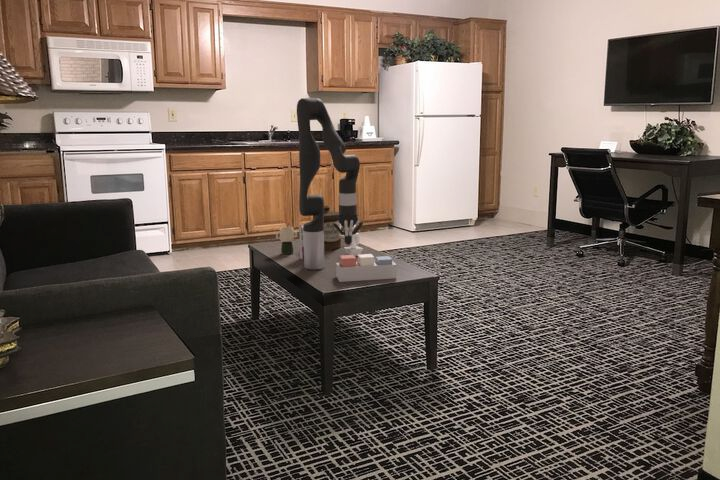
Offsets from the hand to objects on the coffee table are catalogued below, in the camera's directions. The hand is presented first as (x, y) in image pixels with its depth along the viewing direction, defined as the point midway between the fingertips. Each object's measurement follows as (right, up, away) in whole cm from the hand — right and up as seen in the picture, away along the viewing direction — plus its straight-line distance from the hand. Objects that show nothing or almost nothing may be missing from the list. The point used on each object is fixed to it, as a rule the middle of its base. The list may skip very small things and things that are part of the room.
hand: (348, 244), depth 246 cm
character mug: (-32, -5, +50) cm, 59 cm away
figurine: (+2, -6, +45) cm, 45 cm away
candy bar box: (-18, -7, +39) cm, 44 cm away
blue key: (+15, -11, +5) cm, 19 cm away
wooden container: (-12, -2, +64) cm, 66 cm away
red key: (0, -10, +2) cm, 10 cm away
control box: (+8, -14, +4) cm, 17 cm away
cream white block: (+8, -10, +3) cm, 13 cm away
